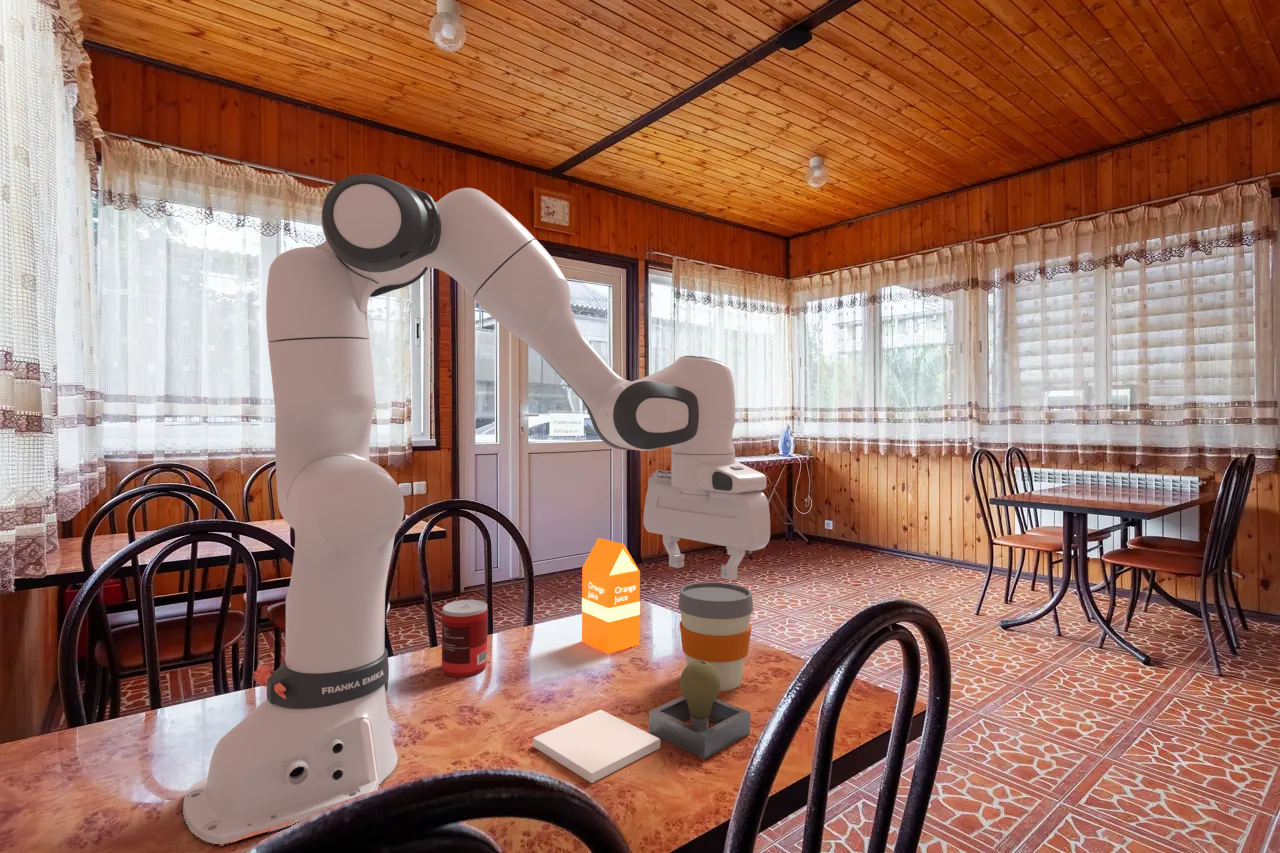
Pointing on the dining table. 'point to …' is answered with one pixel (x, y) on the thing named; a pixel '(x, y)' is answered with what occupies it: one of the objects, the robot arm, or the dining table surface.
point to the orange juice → (610, 598)
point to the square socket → (694, 740)
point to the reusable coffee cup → (716, 627)
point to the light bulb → (700, 691)
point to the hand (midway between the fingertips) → (701, 572)
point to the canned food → (464, 638)
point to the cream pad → (596, 744)
